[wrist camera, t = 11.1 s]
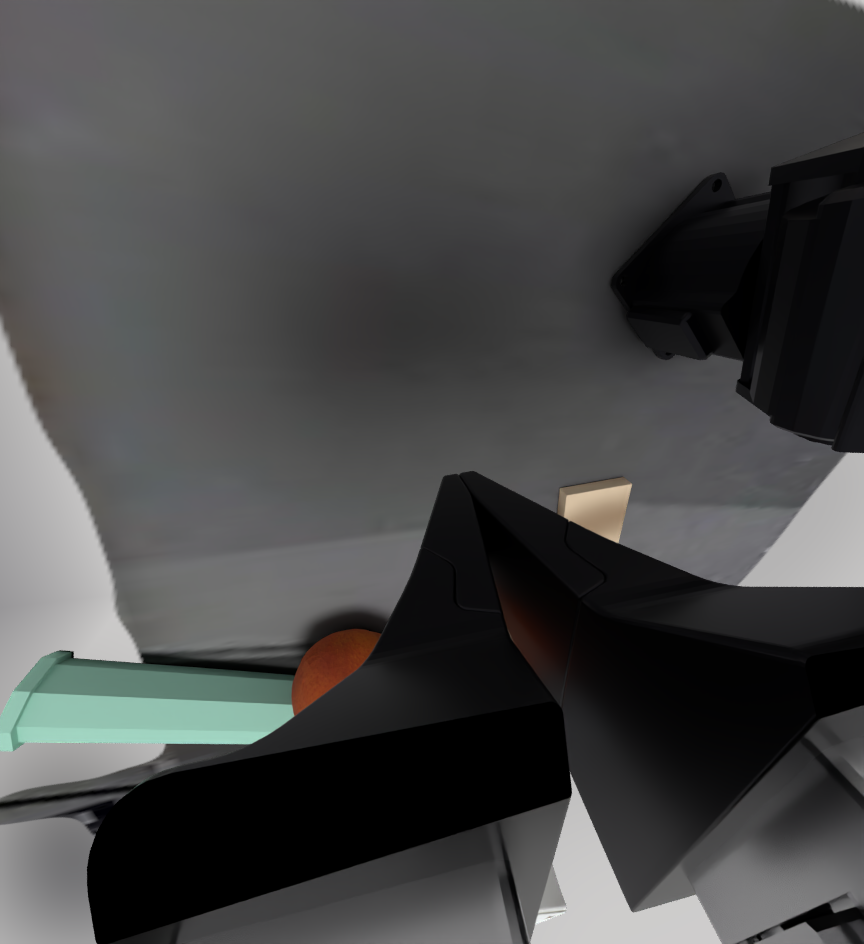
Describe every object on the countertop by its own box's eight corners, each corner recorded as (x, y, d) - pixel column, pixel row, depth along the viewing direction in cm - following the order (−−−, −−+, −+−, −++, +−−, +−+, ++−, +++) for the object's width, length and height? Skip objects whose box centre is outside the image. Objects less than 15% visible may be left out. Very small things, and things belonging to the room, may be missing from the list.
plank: (559, 488, 25) (566, 495, 24) (623, 477, 26) (631, 483, 25) (536, 711, 42) (539, 721, 41) (574, 702, 42) (578, 711, 41)
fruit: (412, 608, 29) (424, 709, 22) (393, 670, 33) (399, 772, 26) (303, 605, 27) (280, 716, 20) (297, 672, 31) (277, 784, 24)
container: (379, 751, 28) (-27, 750, 20) (358, 751, 32) (14, 751, 24) (385, 670, 32) (46, 641, 24) (366, 679, 36) (71, 657, 28)
